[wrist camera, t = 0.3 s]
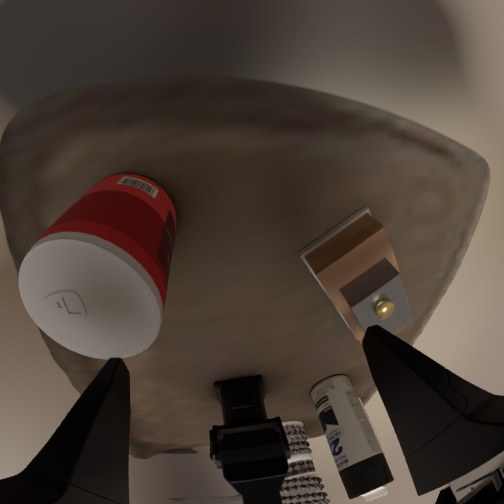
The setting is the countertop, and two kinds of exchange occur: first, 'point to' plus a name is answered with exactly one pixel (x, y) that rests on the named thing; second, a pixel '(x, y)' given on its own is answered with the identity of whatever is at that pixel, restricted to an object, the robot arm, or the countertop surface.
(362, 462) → the spray can
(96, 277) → the canned food
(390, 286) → the lever cap
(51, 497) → the robot arm
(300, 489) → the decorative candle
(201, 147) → the countertop surface
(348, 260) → the body
